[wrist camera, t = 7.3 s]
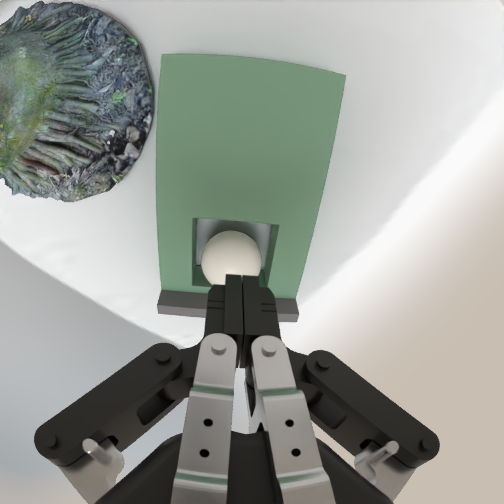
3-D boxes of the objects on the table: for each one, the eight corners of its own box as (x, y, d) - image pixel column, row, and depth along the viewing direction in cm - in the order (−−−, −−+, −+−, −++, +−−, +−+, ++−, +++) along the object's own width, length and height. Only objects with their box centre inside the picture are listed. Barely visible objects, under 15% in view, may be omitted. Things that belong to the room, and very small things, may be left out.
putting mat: (172, 57, 17) (153, 51, 13) (332, 75, 18) (357, 75, 14) (168, 277, 28) (158, 313, 24) (288, 286, 29) (296, 322, 25)
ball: (198, 302, 23) (202, 268, 27) (260, 305, 23) (255, 271, 28) (199, 247, 20) (204, 218, 25) (269, 252, 21) (262, 223, 25)
